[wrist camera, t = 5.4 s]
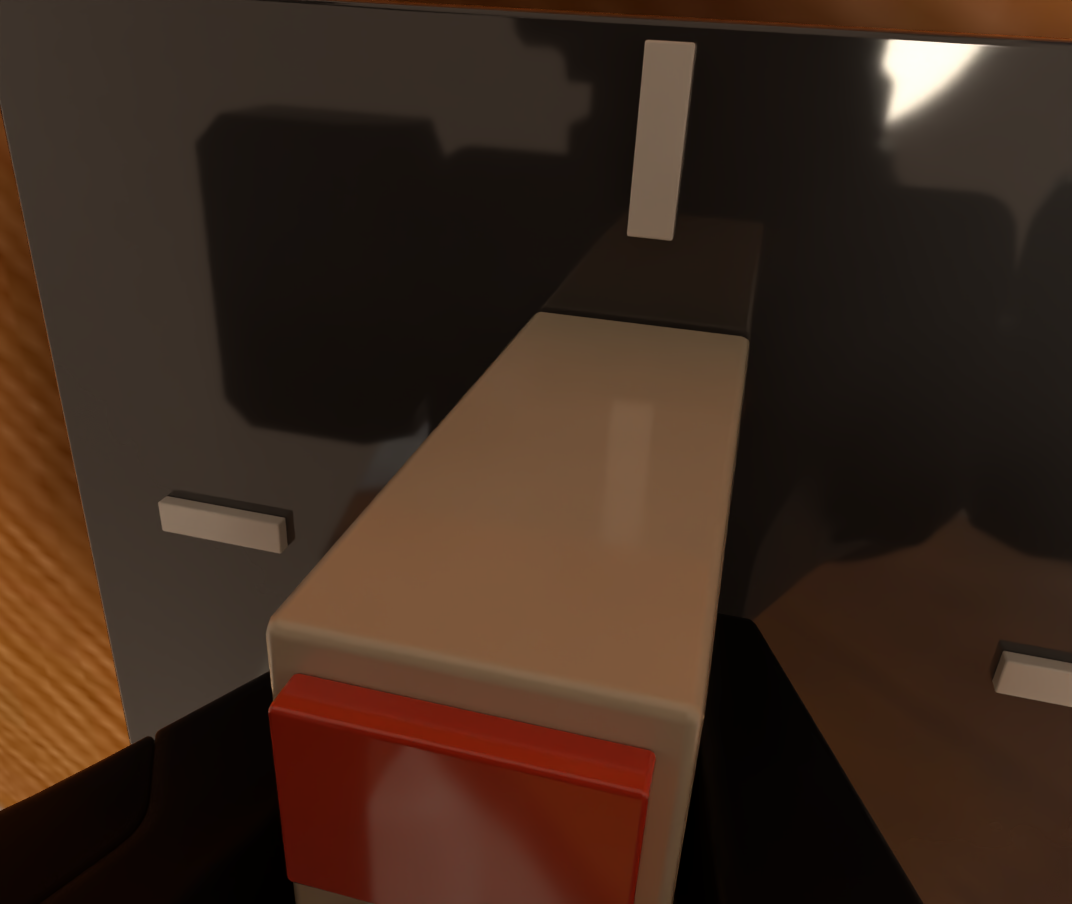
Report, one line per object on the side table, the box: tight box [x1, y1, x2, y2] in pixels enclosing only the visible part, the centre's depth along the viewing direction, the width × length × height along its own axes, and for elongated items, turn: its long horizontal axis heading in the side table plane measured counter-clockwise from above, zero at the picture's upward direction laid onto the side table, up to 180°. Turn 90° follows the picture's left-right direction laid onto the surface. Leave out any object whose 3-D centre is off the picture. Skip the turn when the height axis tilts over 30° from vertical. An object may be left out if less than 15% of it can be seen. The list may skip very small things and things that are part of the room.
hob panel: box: [0, 0, 1072, 904], centre depth 10 cm, size 12×10×3 cm
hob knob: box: [266, 312, 750, 904], centre depth 7 cm, size 6×2×5 cm, turn 177°
